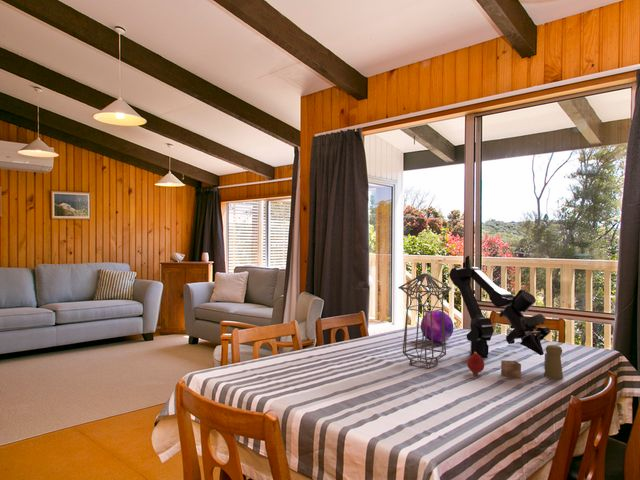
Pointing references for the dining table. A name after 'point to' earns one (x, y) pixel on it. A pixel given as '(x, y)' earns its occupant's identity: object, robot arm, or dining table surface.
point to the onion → (475, 363)
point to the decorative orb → (438, 326)
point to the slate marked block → (545, 357)
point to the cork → (553, 362)
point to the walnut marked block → (511, 369)
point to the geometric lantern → (425, 317)
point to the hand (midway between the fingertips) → (542, 354)
